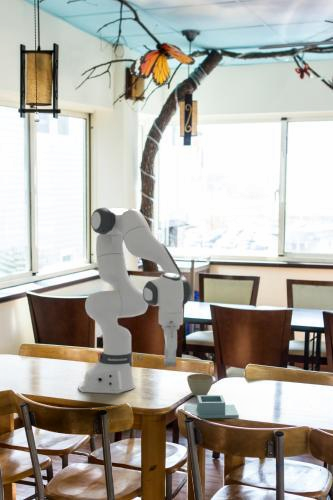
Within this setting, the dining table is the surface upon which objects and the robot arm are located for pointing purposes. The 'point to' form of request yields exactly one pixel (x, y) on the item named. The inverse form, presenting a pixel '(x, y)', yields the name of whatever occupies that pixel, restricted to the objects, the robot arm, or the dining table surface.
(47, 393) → the dining table surface
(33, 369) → the dining table surface
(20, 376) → the dining table surface
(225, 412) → the well
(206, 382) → the flower pot
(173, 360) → the gray rectangular block
